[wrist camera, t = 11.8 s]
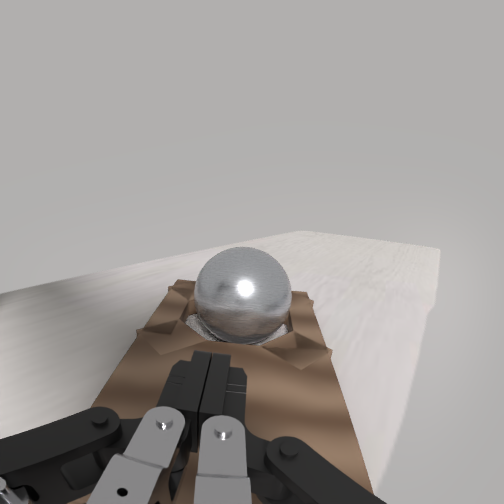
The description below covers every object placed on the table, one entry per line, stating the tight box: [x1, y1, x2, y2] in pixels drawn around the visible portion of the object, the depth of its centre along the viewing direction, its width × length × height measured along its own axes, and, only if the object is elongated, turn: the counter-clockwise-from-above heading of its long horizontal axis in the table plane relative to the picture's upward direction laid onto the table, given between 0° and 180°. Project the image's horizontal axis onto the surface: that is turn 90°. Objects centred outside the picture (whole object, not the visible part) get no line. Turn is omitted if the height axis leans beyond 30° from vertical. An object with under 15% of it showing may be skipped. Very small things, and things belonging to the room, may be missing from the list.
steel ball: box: [194, 247, 292, 344], centre depth 32 cm, size 10×10×10 cm
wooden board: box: [67, 279, 374, 504], centre depth 27 cm, size 34×19×2 cm, turn 178°
